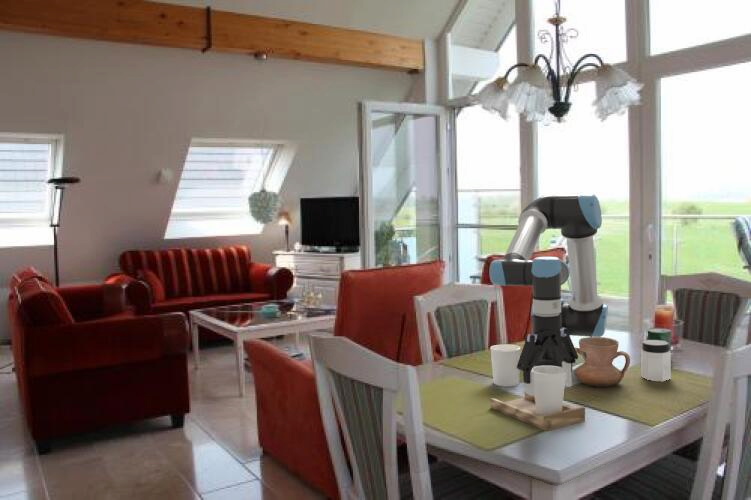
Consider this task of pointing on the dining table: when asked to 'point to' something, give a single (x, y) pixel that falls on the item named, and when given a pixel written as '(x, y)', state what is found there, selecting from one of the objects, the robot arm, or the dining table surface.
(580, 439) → the dining table surface
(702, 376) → the dining table surface
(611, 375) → the ceramic jug
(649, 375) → the jar
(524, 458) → the dining table surface
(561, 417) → the track
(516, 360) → the candle holder
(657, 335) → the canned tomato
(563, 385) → the foam cup
